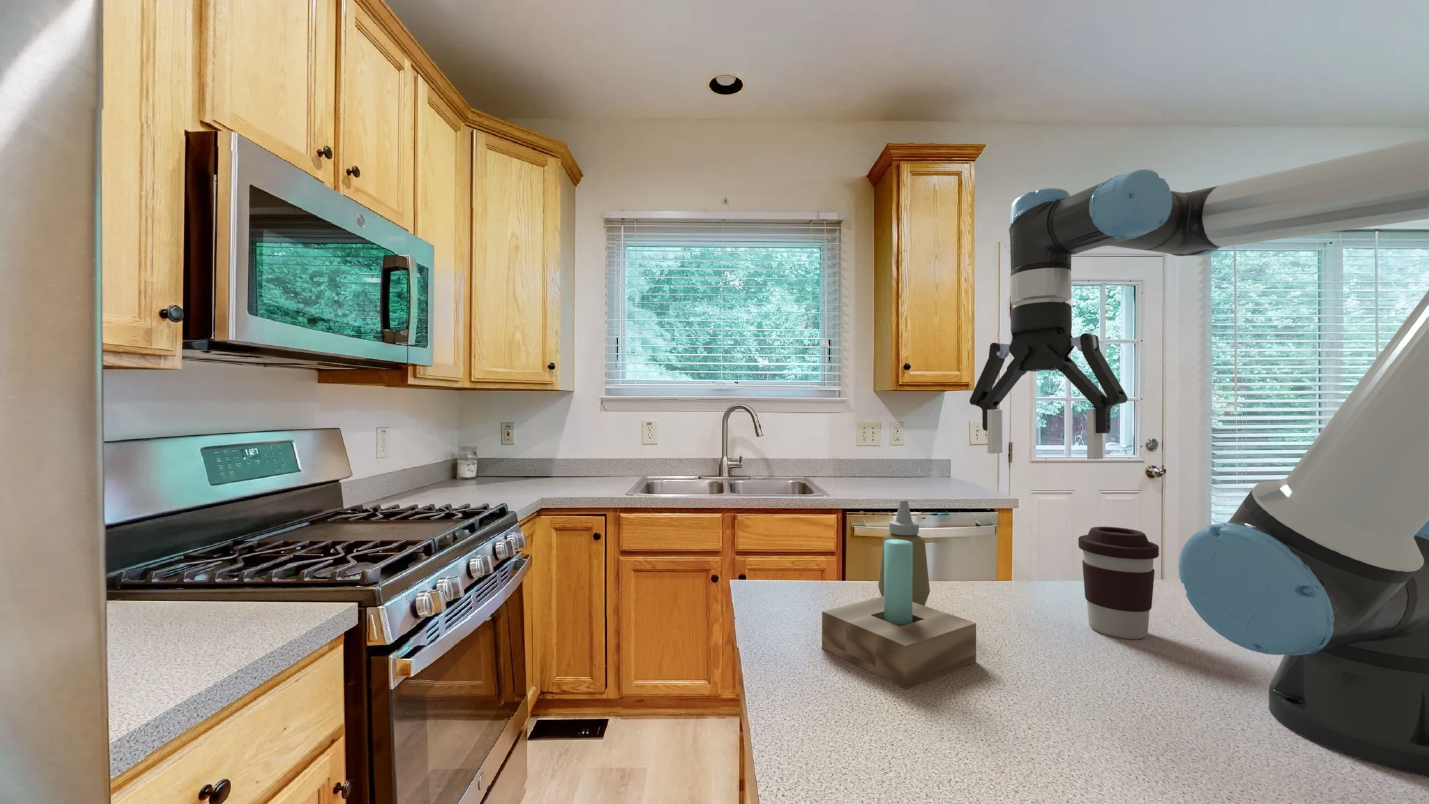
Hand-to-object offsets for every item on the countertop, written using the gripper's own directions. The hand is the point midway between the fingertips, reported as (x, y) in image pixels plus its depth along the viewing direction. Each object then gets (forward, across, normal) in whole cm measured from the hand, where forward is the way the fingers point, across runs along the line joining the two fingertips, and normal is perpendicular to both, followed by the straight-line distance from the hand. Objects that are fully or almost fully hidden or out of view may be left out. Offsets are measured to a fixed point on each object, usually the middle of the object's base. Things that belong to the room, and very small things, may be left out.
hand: (1041, 456), depth 82 cm
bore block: (+26, +10, +19) cm, 34 cm away
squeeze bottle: (+26, +20, +4) cm, 34 cm away
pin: (+25, +10, +19) cm, 33 cm away
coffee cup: (+27, -3, -16) cm, 31 cm away
